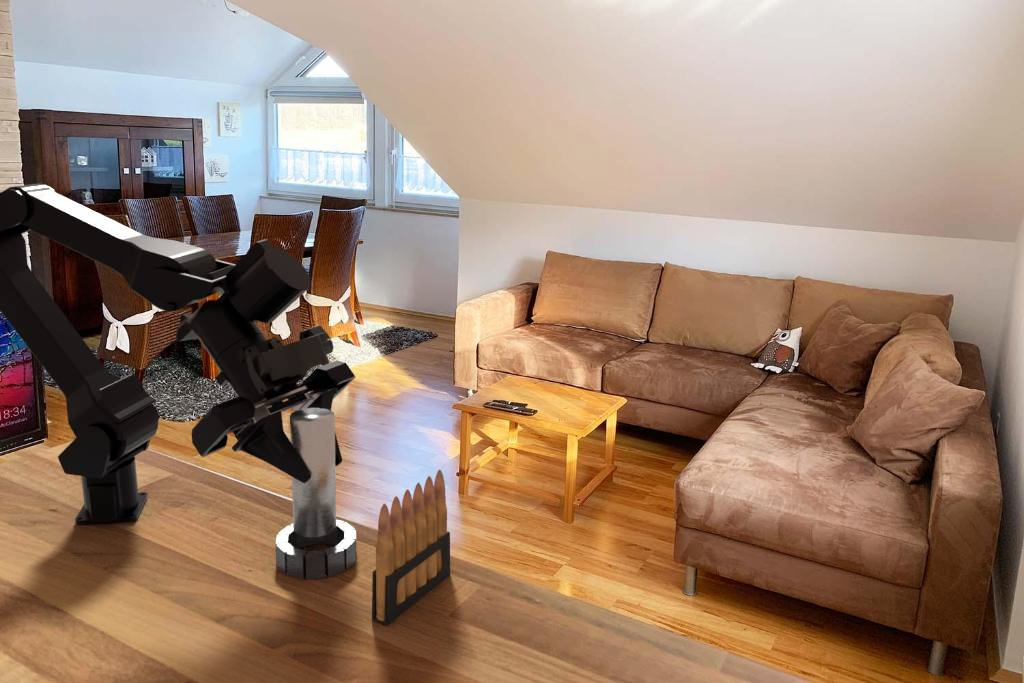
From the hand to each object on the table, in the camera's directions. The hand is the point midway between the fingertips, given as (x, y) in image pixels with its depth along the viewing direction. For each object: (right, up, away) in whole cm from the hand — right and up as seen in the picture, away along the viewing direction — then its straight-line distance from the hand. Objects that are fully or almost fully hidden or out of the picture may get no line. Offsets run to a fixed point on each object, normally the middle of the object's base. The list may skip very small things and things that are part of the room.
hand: (323, 472), depth 87 cm
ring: (-1, -10, +3) cm, 10 cm away
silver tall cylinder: (-1, -6, +2) cm, 7 cm away
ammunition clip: (+9, -12, -3) cm, 16 cm away
